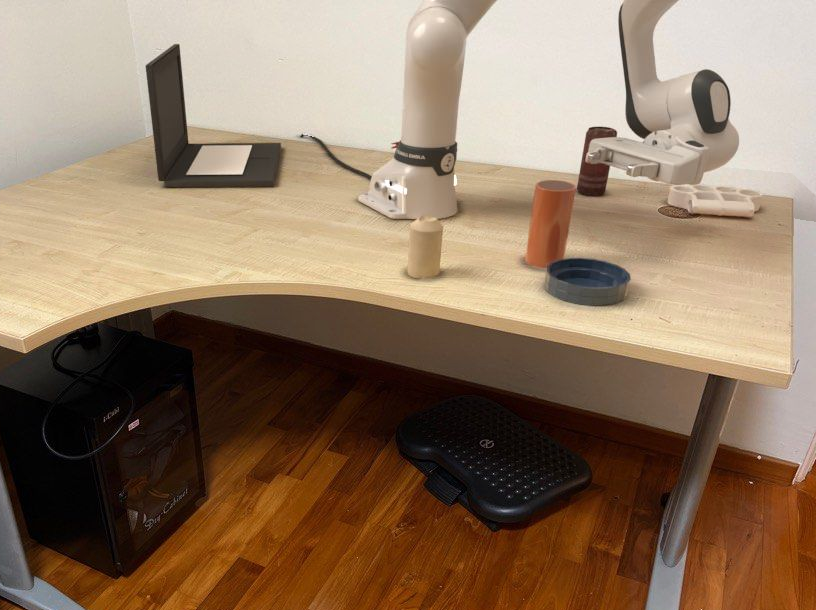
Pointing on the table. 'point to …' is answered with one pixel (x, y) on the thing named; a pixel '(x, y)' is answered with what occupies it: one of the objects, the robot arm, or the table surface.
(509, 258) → the table surface
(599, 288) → the bowl
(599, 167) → the can
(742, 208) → the white brass knuckles
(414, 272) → the candle
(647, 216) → the table surface
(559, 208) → the tumbler
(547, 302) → the table surface
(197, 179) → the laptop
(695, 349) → the table surface
